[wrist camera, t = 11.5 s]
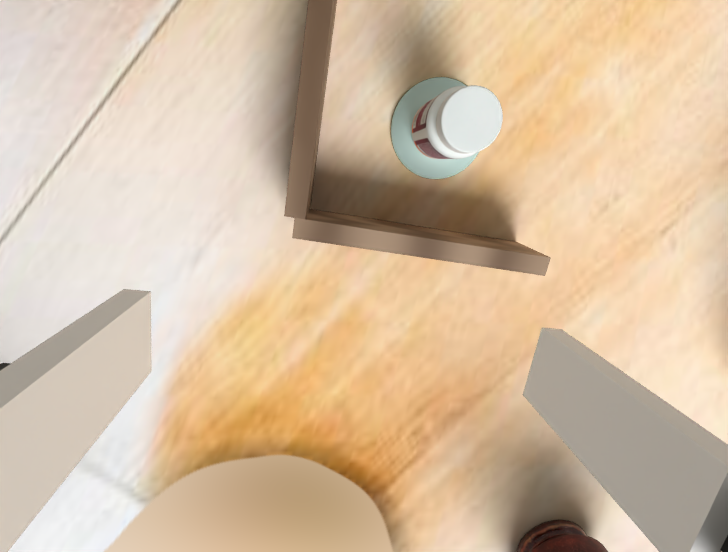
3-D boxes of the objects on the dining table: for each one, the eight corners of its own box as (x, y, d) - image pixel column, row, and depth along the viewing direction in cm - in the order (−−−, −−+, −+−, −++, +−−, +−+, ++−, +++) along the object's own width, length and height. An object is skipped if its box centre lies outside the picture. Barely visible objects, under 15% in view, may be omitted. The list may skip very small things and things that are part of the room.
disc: (383, 170, 33) (383, 170, 33) (401, 68, 31) (401, 68, 31) (471, 186, 34) (472, 186, 34) (494, 88, 32) (496, 87, 32)
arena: (290, 223, 34) (282, 236, 28) (317, -5, 29) (313, -45, 24) (511, 257, 37) (544, 275, 31) (570, 52, 32) (622, 28, 26)
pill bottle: (471, 148, 33) (516, 145, 25) (418, 166, 33) (445, 169, 25) (458, 90, 32) (501, 67, 24) (403, 109, 32) (426, 92, 24)
